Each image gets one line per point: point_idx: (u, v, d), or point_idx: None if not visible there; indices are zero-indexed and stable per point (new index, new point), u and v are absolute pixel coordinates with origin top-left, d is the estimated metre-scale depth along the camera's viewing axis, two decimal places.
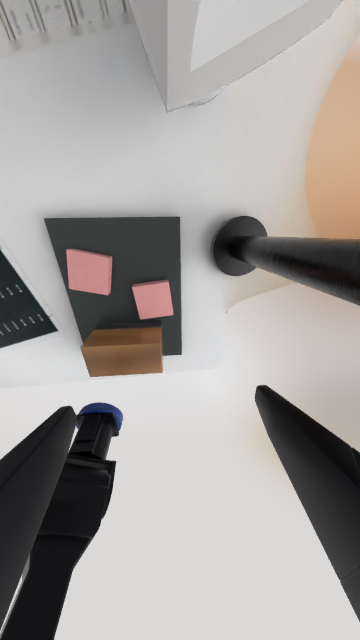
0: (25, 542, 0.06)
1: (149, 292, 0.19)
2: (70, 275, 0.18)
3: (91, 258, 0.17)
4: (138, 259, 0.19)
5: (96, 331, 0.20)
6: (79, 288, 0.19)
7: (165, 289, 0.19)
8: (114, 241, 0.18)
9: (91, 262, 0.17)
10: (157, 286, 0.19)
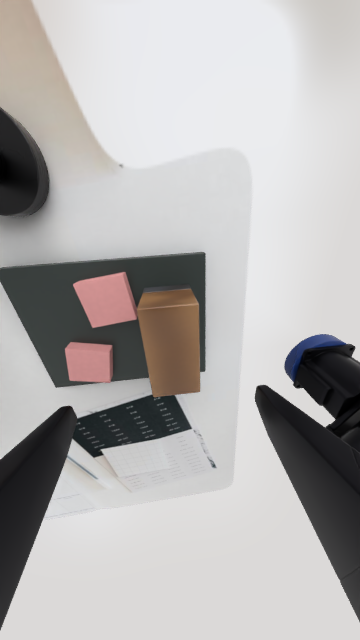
0: (24, 542, 0.06)
1: (94, 308, 0.15)
2: (94, 380, 0.18)
3: (71, 363, 0.17)
4: (64, 316, 0.16)
5: None
6: (107, 375, 0.18)
7: (84, 287, 0.14)
8: (53, 338, 0.17)
9: (75, 363, 0.17)
10: (83, 298, 0.14)
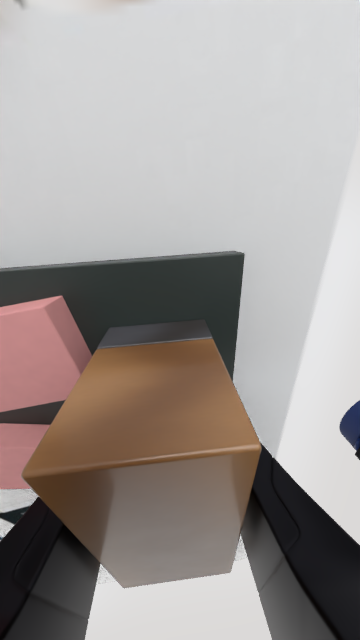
0: None
1: None
2: (27, 487, 0.10)
3: None
4: None
5: None
6: None
7: None
8: None
9: None
10: None
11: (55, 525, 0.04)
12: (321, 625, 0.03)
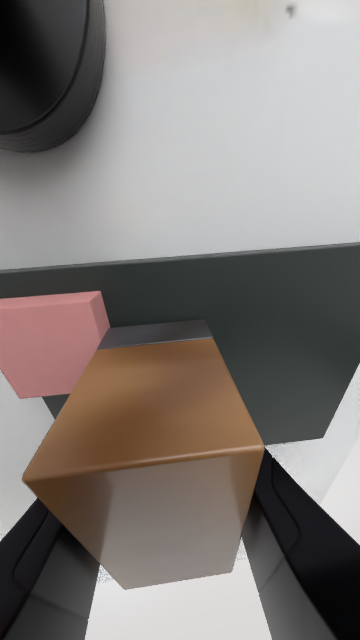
0: None
1: (22, 364, 0.07)
2: None
3: None
4: None
5: None
6: None
7: None
8: None
9: None
10: None
11: (55, 526, 0.04)
12: (321, 625, 0.03)
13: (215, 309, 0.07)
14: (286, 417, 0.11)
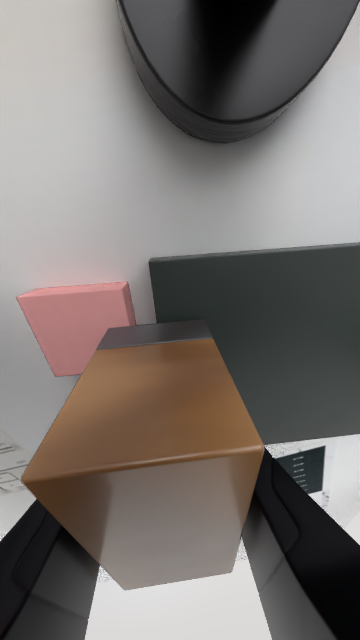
0: None
1: (60, 344, 0.08)
2: None
3: None
4: (241, 351, 0.09)
5: None
6: None
7: (39, 306, 0.07)
8: None
9: None
10: (38, 325, 0.07)
11: (55, 525, 0.04)
12: (321, 625, 0.03)
13: (355, 296, 0.08)
14: None
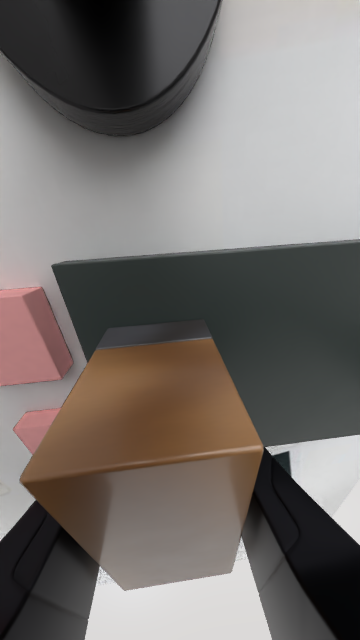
0: None
1: None
2: None
3: (33, 446, 0.10)
4: None
5: None
6: None
7: None
8: None
9: None
10: None
11: (55, 525, 0.04)
12: (321, 626, 0.03)
13: (287, 302, 0.07)
14: (334, 413, 0.11)
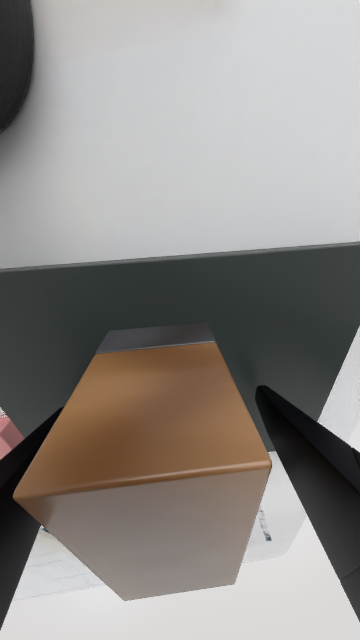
0: (24, 541, 0.06)
1: None
2: None
3: None
4: (72, 373, 0.08)
5: None
6: None
7: None
8: (49, 410, 0.09)
9: None
10: None
11: None
12: None
13: (179, 315, 0.07)
14: None
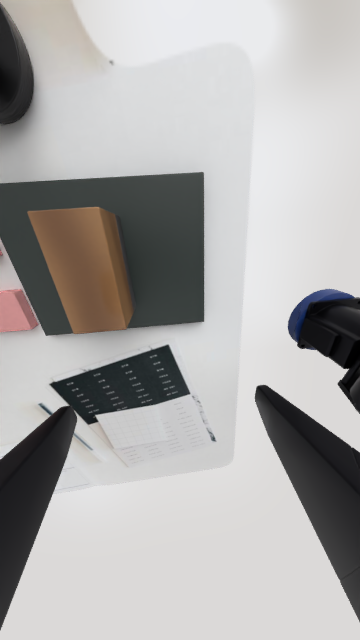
0: (25, 541, 0.06)
1: None
2: (15, 328, 0.18)
3: None
4: None
5: None
6: (24, 320, 0.18)
7: None
8: (42, 274, 0.16)
9: None
10: None
11: None
12: None
13: None
14: (171, 299, 0.18)
